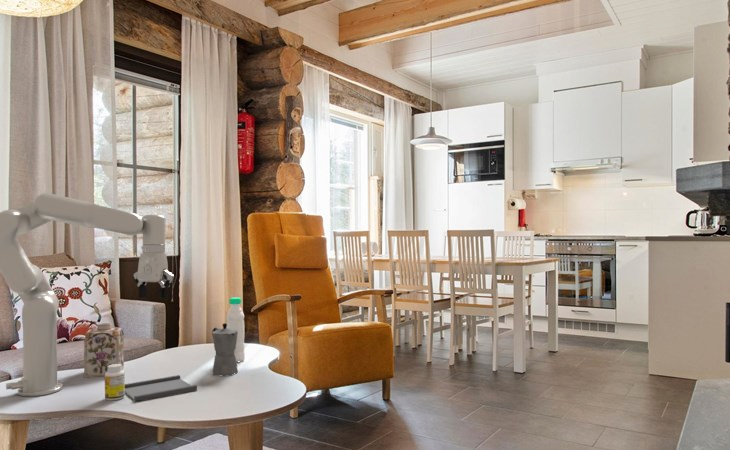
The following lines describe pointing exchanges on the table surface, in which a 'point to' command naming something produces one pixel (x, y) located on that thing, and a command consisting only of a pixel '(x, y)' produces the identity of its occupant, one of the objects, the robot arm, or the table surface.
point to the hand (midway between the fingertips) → (153, 298)
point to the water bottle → (237, 326)
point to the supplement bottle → (114, 382)
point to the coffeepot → (224, 351)
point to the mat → (158, 388)
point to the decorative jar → (103, 349)
